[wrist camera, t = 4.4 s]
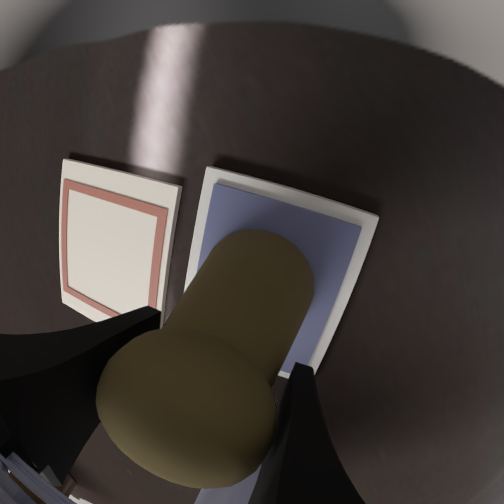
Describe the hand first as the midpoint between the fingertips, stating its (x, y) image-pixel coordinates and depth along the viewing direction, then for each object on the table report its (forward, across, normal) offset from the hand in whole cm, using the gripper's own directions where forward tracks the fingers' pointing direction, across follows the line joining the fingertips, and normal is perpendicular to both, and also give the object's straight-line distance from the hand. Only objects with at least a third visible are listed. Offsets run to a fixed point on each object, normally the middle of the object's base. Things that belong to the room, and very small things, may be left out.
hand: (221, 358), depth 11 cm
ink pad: (+7, 0, 0) cm, 7 cm away
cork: (+6, 0, 0) cm, 6 cm away
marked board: (+7, +11, +2) cm, 13 cm away
